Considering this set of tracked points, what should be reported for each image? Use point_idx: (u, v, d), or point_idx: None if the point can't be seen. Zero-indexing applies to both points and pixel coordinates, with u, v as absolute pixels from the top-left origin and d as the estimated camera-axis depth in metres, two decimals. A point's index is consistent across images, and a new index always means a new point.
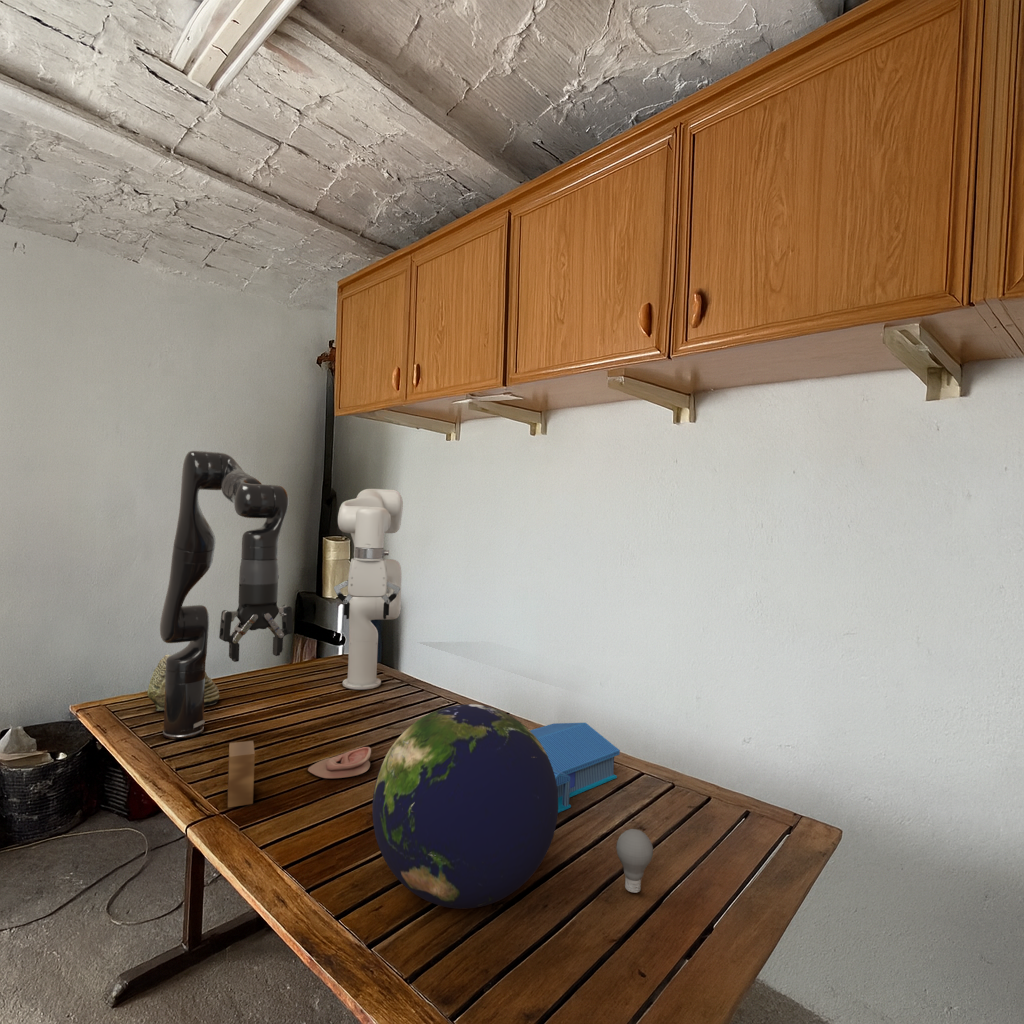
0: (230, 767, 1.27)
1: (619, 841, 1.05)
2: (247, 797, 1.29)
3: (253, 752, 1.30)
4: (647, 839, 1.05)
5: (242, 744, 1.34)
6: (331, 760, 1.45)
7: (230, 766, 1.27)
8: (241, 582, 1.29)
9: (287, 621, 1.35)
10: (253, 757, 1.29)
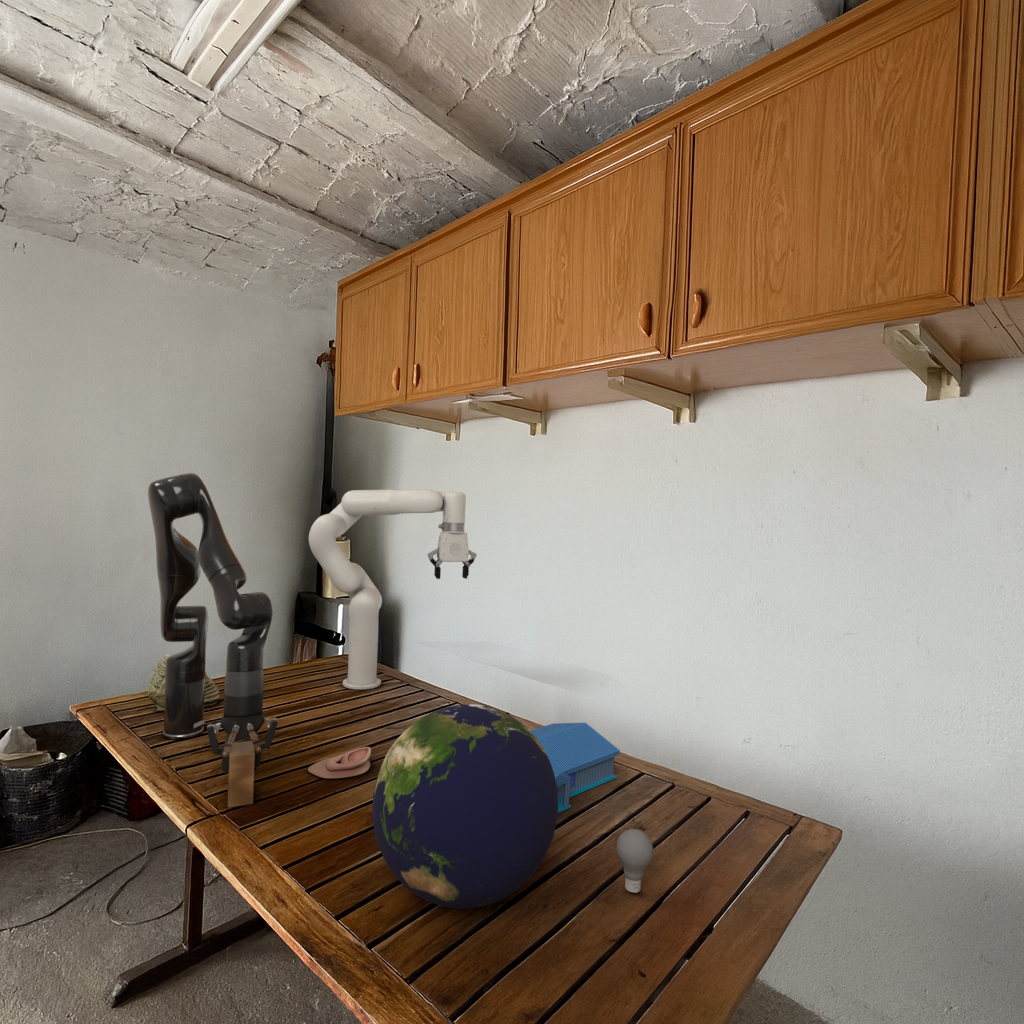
0: (230, 767, 1.27)
1: (619, 841, 1.05)
2: (247, 797, 1.29)
3: (253, 752, 1.30)
4: (647, 839, 1.05)
5: (242, 744, 1.34)
6: (331, 760, 1.45)
7: (230, 766, 1.27)
8: None
9: None
10: (253, 757, 1.29)
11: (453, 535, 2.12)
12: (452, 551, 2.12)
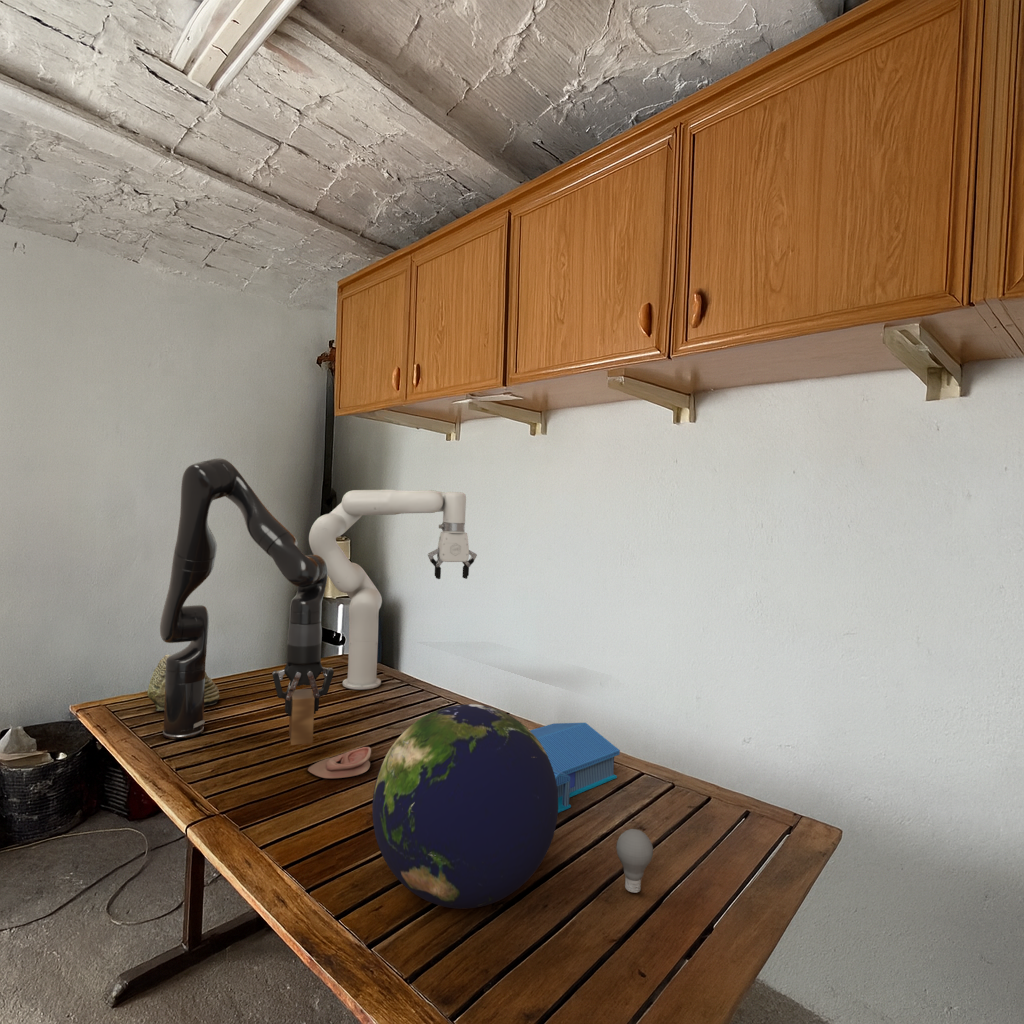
0: (293, 709, 1.43)
1: (619, 841, 1.05)
2: (308, 736, 1.45)
3: (313, 697, 1.45)
4: (647, 839, 1.05)
5: (302, 691, 1.49)
6: (331, 760, 1.45)
7: (293, 708, 1.43)
8: None
9: None
10: (313, 701, 1.45)
11: (454, 535, 2.13)
12: (452, 551, 2.12)
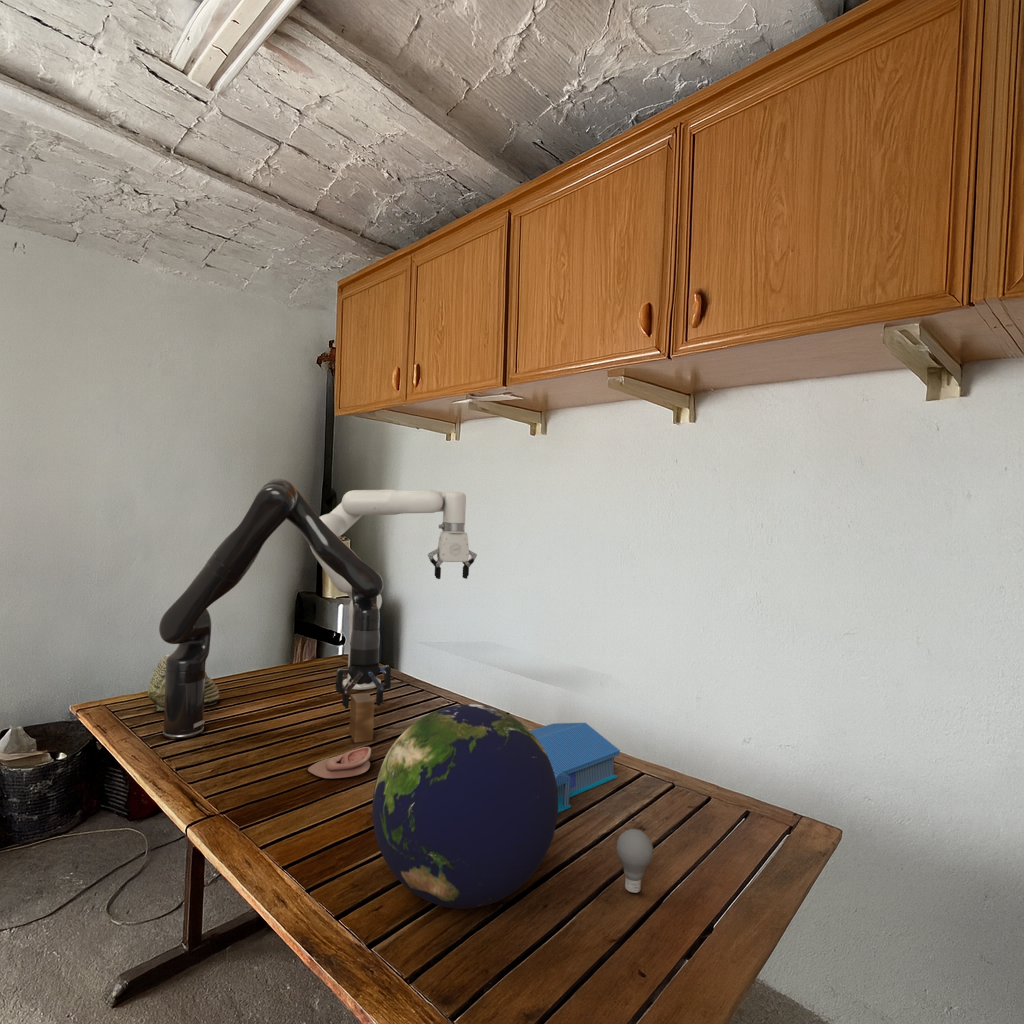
0: (356, 711, 1.64)
1: (619, 841, 1.05)
2: (369, 735, 1.65)
3: (373, 700, 1.66)
4: (647, 839, 1.05)
5: (361, 695, 1.70)
6: (331, 760, 1.45)
7: (356, 710, 1.64)
8: None
9: None
10: (373, 704, 1.65)
11: (454, 535, 2.13)
12: (452, 551, 2.12)
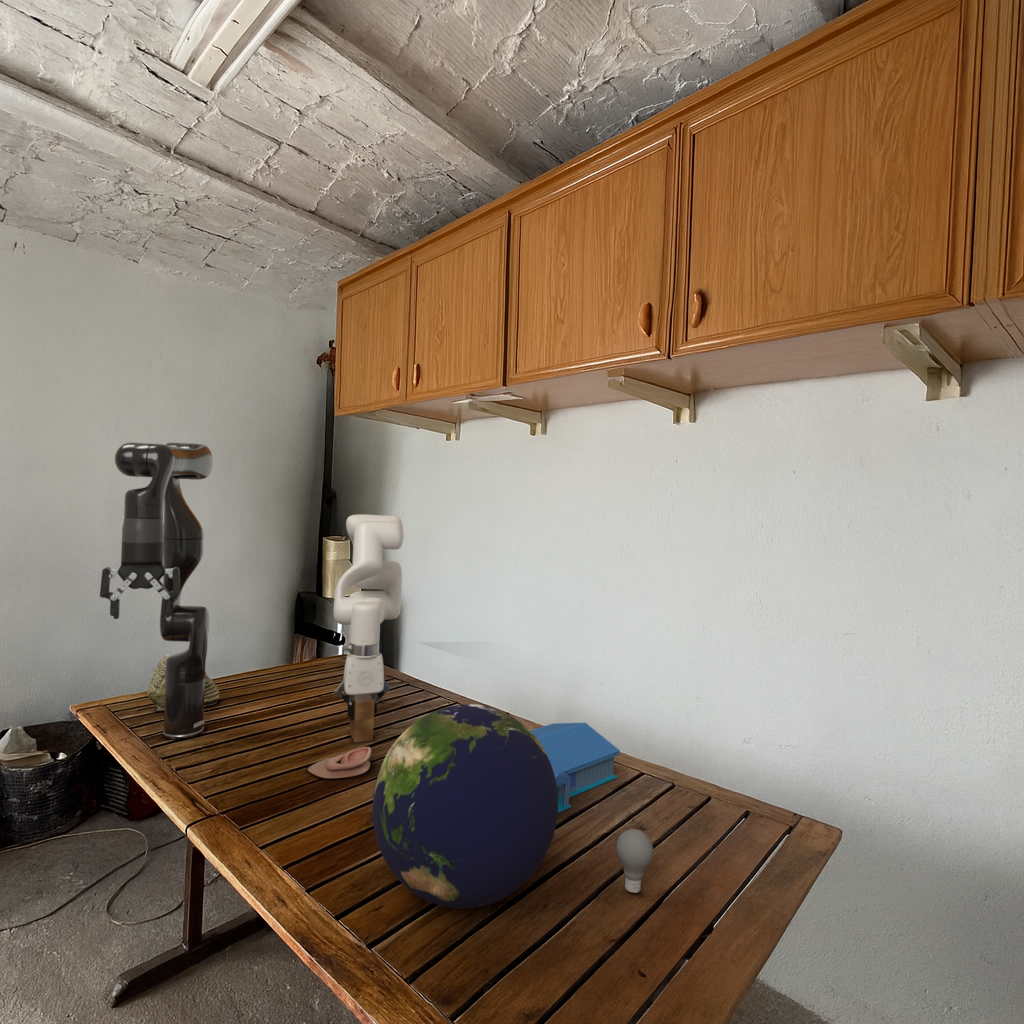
0: (357, 711, 1.64)
1: (619, 841, 1.05)
2: (369, 735, 1.65)
3: (373, 700, 1.66)
4: (647, 839, 1.05)
5: (361, 695, 1.70)
6: (331, 760, 1.45)
7: (356, 710, 1.64)
8: (163, 540, 1.33)
9: None
10: (373, 704, 1.65)
11: (363, 660, 1.65)
12: (361, 681, 1.65)
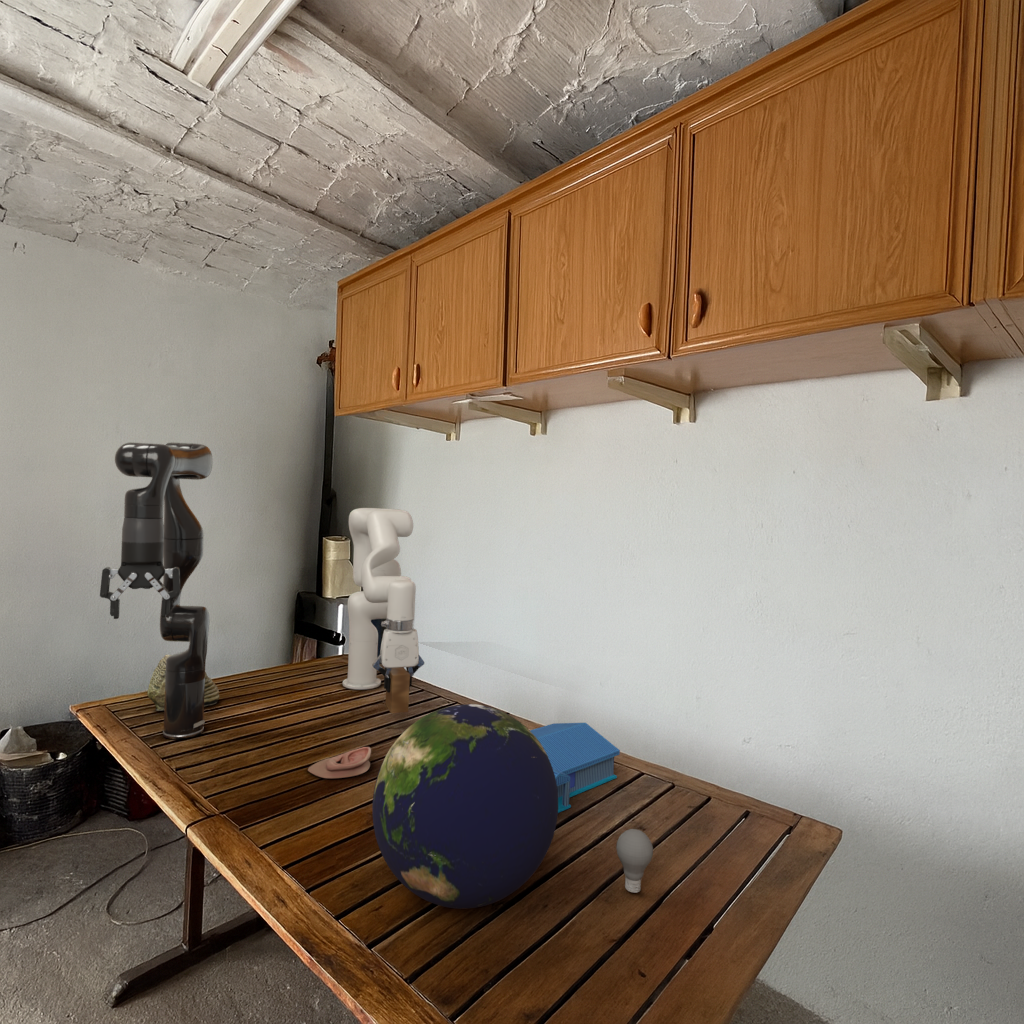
0: (393, 683, 1.72)
1: (619, 841, 1.05)
2: (404, 706, 1.73)
3: (408, 673, 1.74)
4: (647, 839, 1.05)
5: (397, 669, 1.78)
6: (331, 760, 1.45)
7: (393, 682, 1.72)
8: (163, 540, 1.33)
9: None
10: (409, 677, 1.73)
11: (399, 635, 1.73)
12: (398, 655, 1.73)
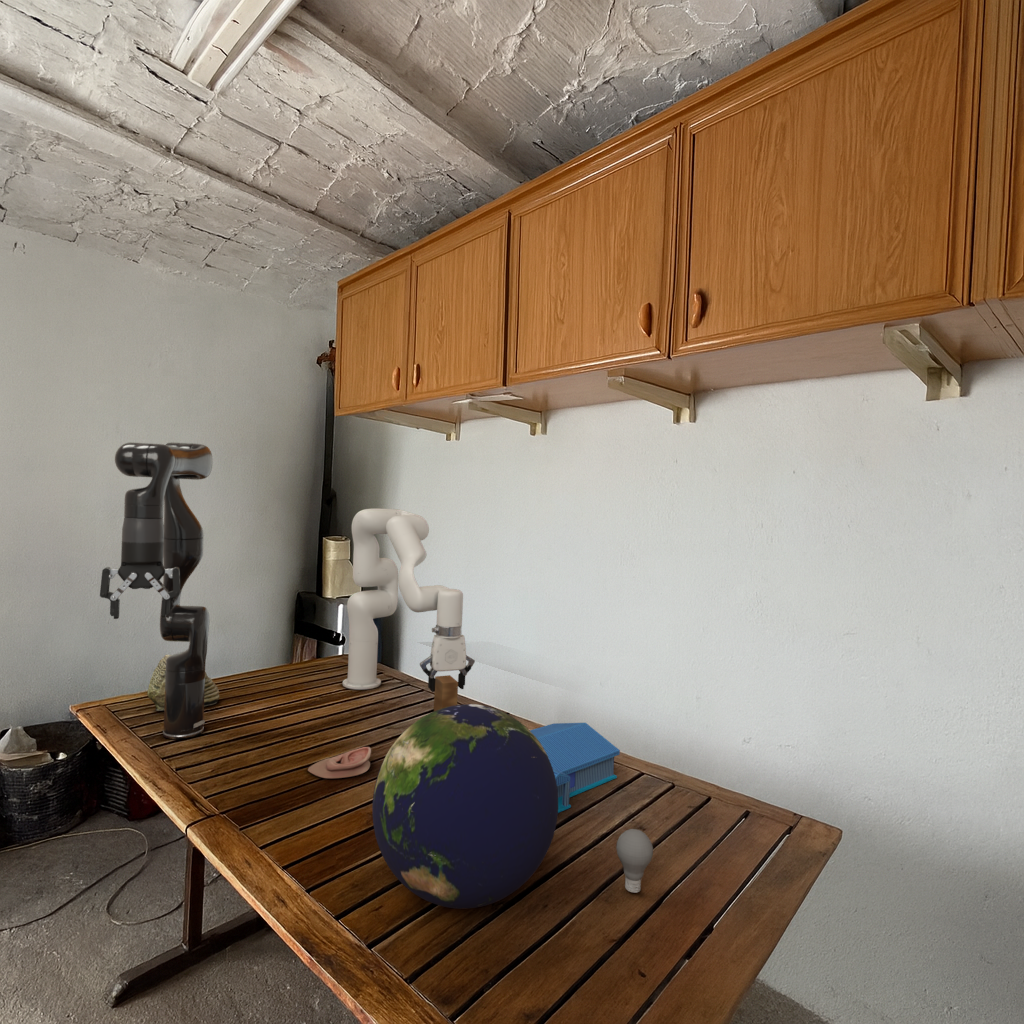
0: (443, 690, 1.84)
1: (619, 841, 1.05)
2: None
3: (456, 681, 1.86)
4: (647, 839, 1.05)
5: (444, 677, 1.90)
6: (331, 760, 1.45)
7: (443, 690, 1.84)
8: (163, 540, 1.33)
9: None
10: (457, 684, 1.86)
11: (449, 641, 1.85)
12: (447, 659, 1.85)
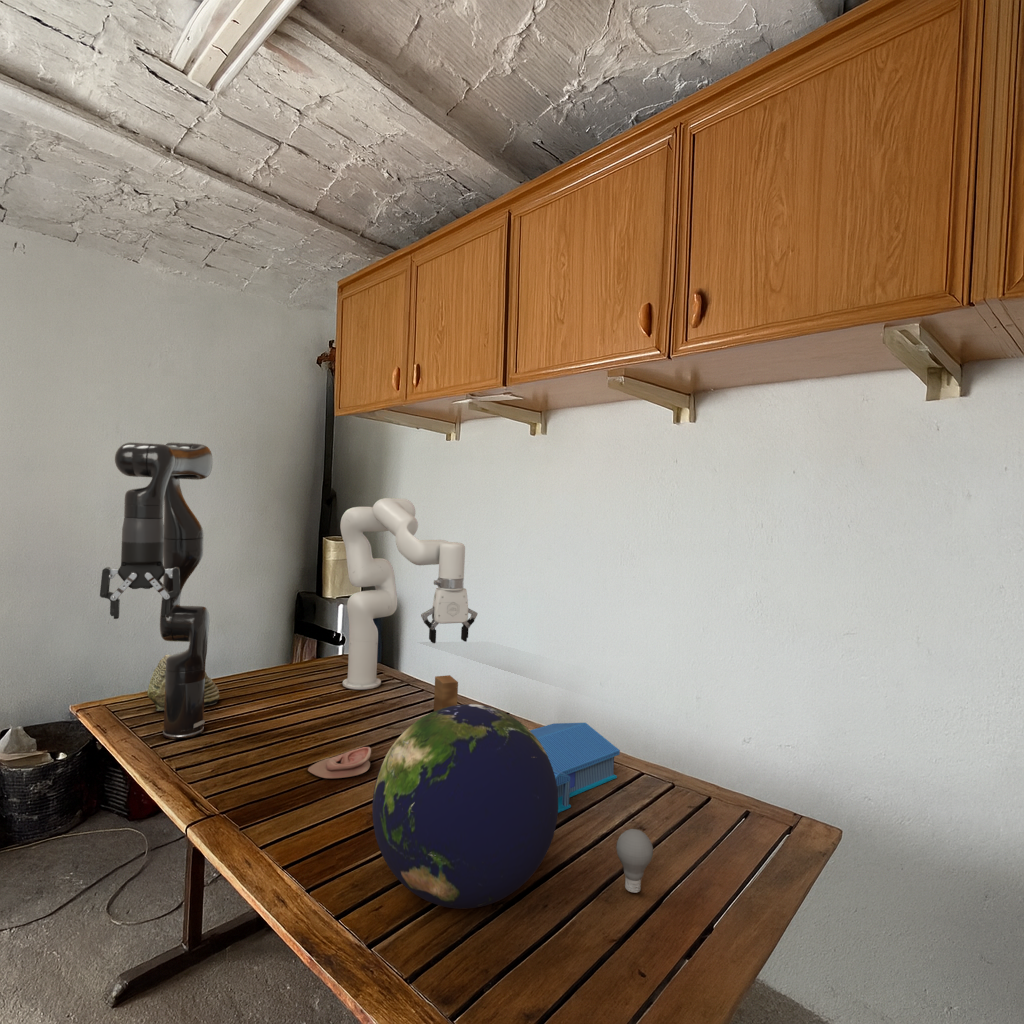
0: (443, 690, 1.84)
1: (619, 841, 1.05)
2: None
3: (456, 681, 1.86)
4: (647, 839, 1.05)
5: (444, 677, 1.90)
6: (331, 760, 1.45)
7: (443, 690, 1.84)
8: (163, 540, 1.33)
9: None
10: (457, 684, 1.86)
11: (451, 593, 1.85)
12: (449, 611, 1.85)
